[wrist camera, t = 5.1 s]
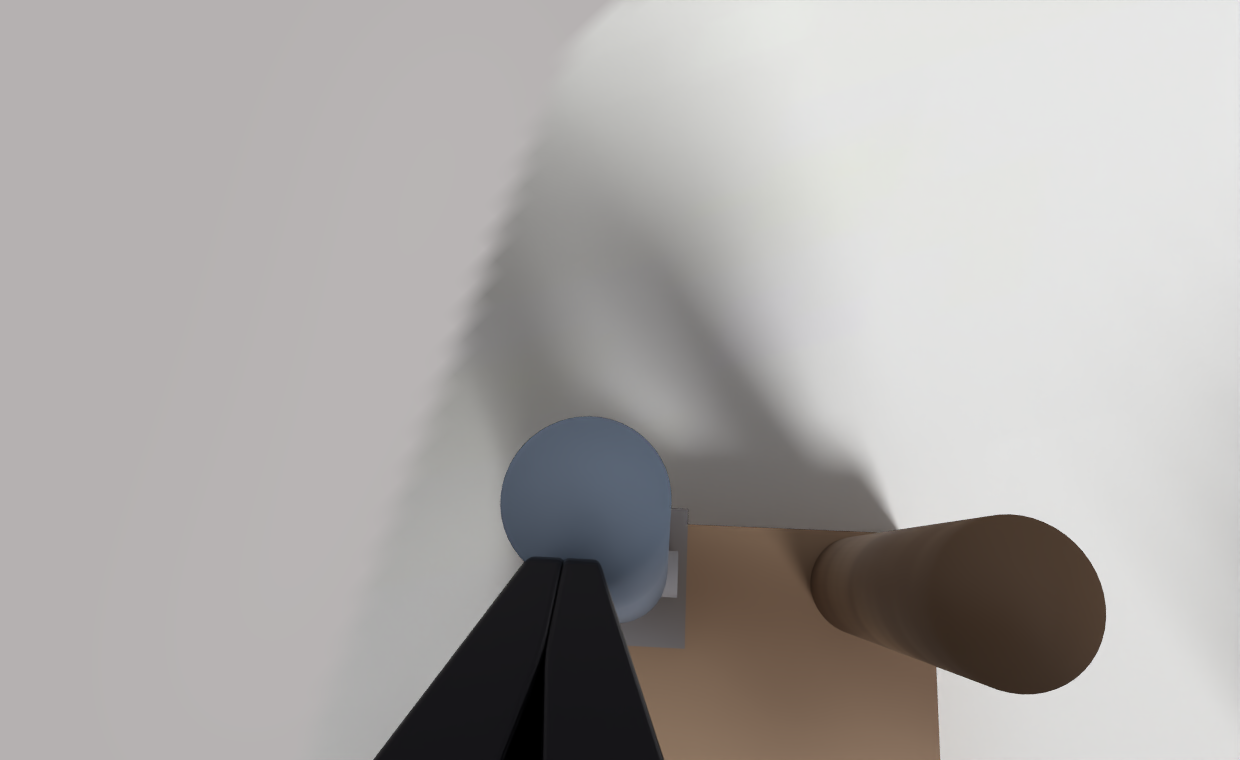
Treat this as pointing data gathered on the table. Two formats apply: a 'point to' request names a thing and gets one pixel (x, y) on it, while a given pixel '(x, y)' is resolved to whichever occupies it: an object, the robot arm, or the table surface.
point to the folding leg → (595, 507)
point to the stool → (855, 634)
